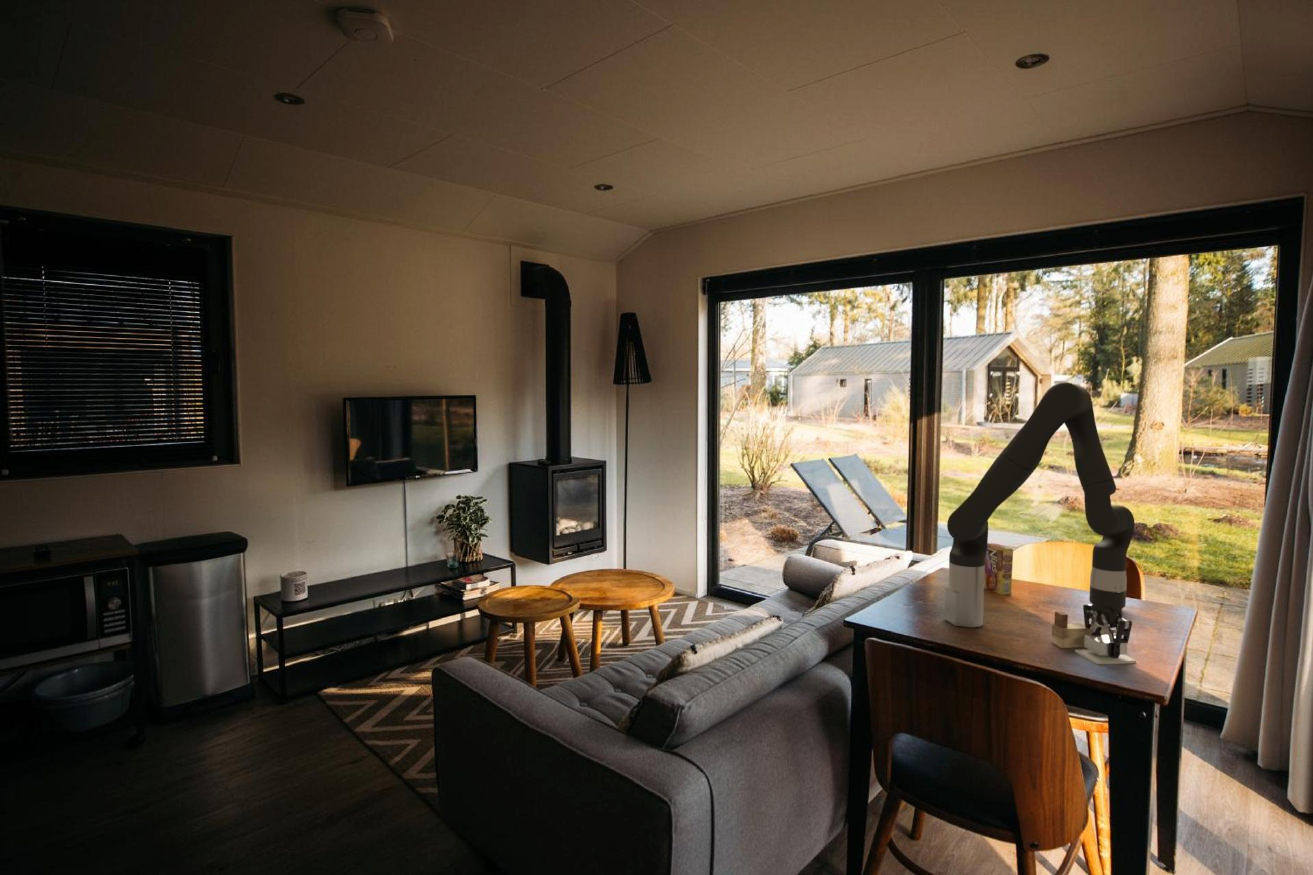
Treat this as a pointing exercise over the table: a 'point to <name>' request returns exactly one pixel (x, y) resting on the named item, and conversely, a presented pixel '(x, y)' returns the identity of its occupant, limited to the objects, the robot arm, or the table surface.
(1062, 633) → the body
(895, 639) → the table surface
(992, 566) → the candy box
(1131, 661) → the mat
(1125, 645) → the lever cap
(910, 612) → the table surface
